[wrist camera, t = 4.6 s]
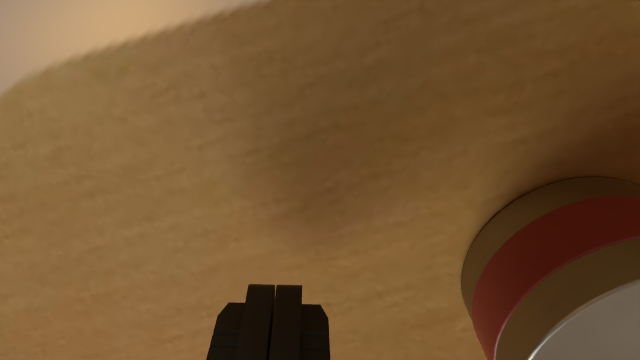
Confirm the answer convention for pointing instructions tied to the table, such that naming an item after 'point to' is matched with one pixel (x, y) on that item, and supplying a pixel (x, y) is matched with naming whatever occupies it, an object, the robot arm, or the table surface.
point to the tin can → (559, 274)
